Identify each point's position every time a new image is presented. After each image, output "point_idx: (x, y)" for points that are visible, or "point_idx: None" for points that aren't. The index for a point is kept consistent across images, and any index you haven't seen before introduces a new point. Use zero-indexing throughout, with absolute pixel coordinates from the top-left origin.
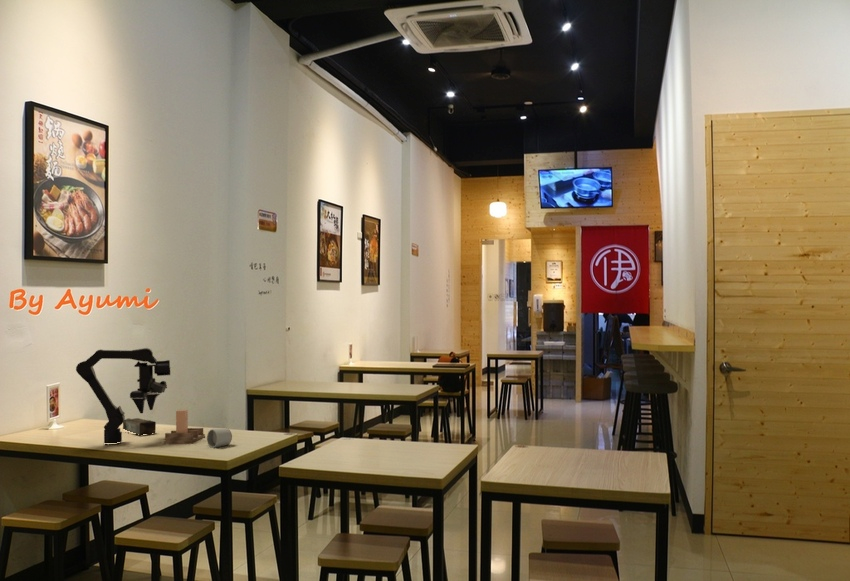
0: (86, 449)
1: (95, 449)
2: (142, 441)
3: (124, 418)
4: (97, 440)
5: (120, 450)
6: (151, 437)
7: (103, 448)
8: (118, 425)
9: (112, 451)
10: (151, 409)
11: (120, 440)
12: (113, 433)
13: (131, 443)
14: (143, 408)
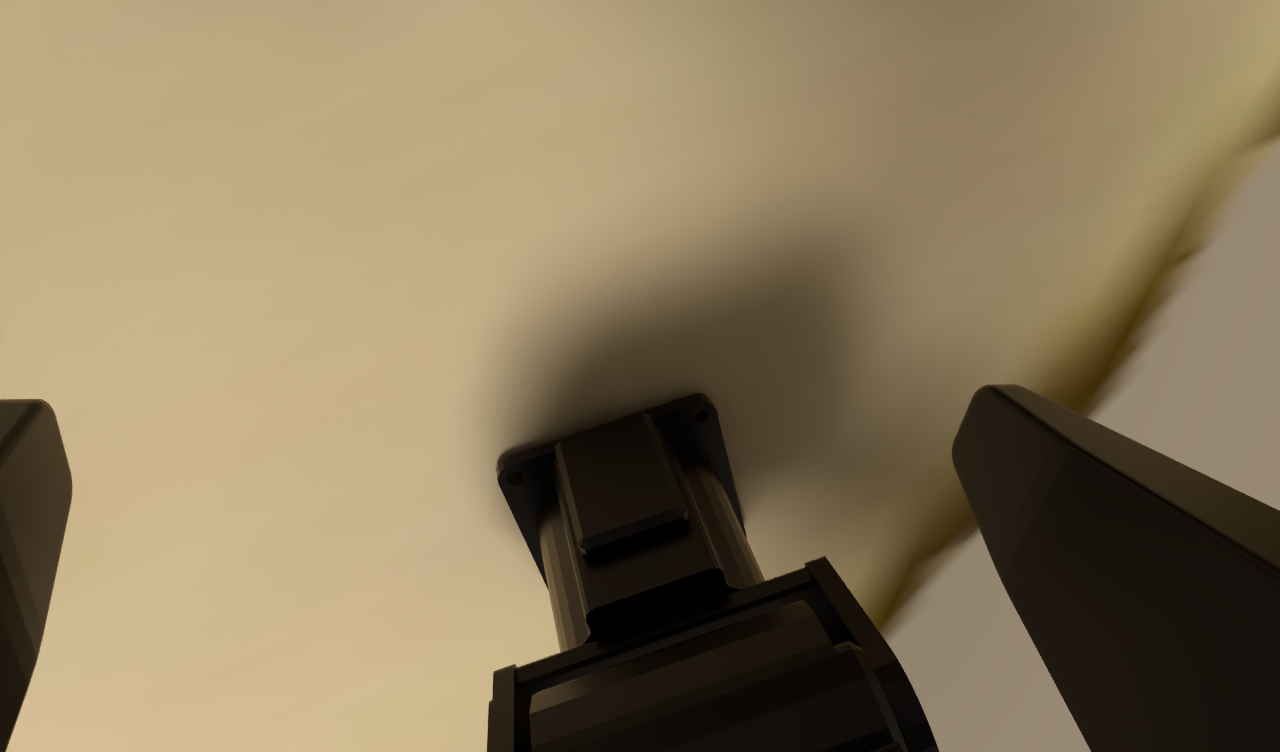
0: (915, 583)
1: (953, 504)
2: (499, 127)
3: (597, 732)
4: (377, 738)
5: (1165, 184)
6: (35, 106)
7: (926, 451)
8: (859, 606)
9: (1178, 262)
10: (43, 440)
11: (657, 430)
12: (758, 569)
13: (662, 248)
14: (1154, 477)
